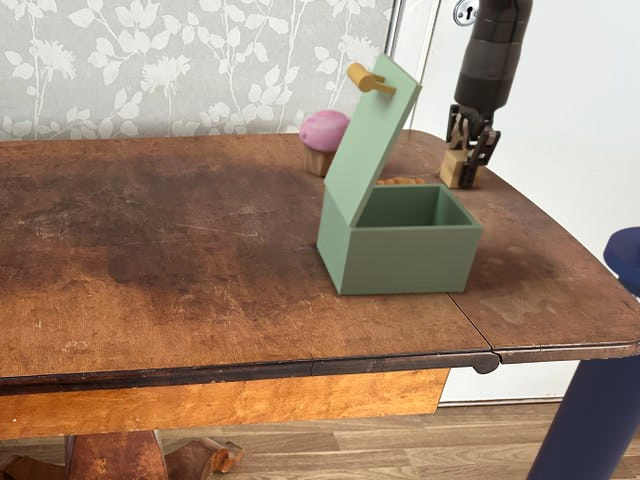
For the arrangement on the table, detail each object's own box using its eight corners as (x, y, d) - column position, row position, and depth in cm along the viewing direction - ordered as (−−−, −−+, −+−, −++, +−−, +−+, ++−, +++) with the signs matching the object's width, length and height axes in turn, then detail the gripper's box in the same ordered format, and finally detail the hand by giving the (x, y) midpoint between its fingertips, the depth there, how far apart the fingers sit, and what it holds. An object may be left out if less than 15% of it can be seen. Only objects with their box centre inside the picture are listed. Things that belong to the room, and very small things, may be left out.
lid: (386, 53, 82) (346, 41, 80) (423, 86, 72) (378, 73, 71) (328, 183, 91) (292, 173, 90) (354, 228, 81) (314, 218, 80)
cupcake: (326, 158, 121) (335, 99, 115) (360, 176, 115) (371, 115, 109) (284, 168, 118) (291, 108, 112) (317, 187, 112) (326, 125, 106)
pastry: (362, 209, 105) (366, 185, 103) (357, 191, 111) (362, 168, 108) (426, 213, 104) (432, 189, 102) (419, 194, 110) (424, 171, 107)
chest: (428, 243, 97) (443, 183, 92) (463, 291, 87) (483, 227, 82) (316, 246, 97) (325, 185, 91) (339, 295, 87) (350, 230, 81)
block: (466, 176, 115) (473, 149, 113) (477, 187, 112) (484, 160, 109) (439, 176, 115) (445, 150, 112) (449, 188, 112) (456, 160, 109)
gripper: (535, 84, 97) (499, 199, 108) (492, 56, 109) (463, 163, 119) (482, 85, 97) (451, 200, 108) (444, 57, 108) (420, 163, 119)
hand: (458, 180), depth 113 cm, fingers closed on block, 4 cm apart
